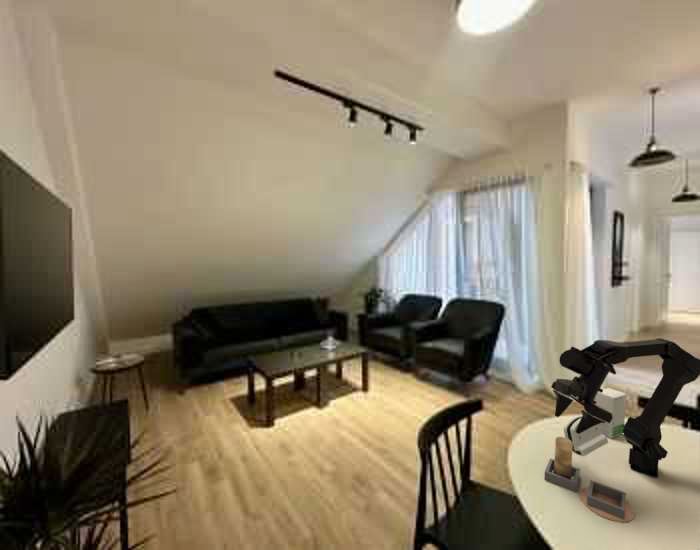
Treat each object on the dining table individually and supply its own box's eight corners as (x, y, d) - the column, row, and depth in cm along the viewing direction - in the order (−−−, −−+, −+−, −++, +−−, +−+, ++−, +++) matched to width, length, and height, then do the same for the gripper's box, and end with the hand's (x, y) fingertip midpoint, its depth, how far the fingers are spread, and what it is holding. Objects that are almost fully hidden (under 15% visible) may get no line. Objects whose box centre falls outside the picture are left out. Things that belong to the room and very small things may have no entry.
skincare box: (611, 439, 122) (614, 398, 120) (591, 429, 128) (594, 390, 126) (624, 433, 125) (627, 393, 123) (605, 424, 131) (608, 386, 129)
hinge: (582, 456, 112) (573, 425, 114) (568, 453, 116) (559, 423, 118) (608, 441, 120) (599, 412, 122) (594, 439, 124) (586, 411, 126)
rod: (571, 477, 103) (573, 440, 102) (569, 485, 100) (571, 447, 98) (555, 470, 106) (557, 435, 104) (552, 478, 102) (554, 441, 101)
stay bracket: (634, 501, 93) (635, 492, 93) (634, 530, 84) (635, 520, 84) (582, 481, 101) (583, 473, 101) (577, 506, 92) (577, 496, 92)
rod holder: (579, 476, 103) (580, 469, 103) (575, 491, 97) (576, 483, 97) (549, 465, 108) (550, 458, 108) (544, 479, 102) (544, 471, 102)
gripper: (548, 358, 111) (526, 399, 112) (592, 382, 92) (565, 431, 93) (577, 371, 112) (554, 412, 113) (625, 398, 93) (598, 446, 94)
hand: (566, 424), depth 103 cm, fingers open, 9 cm apart
